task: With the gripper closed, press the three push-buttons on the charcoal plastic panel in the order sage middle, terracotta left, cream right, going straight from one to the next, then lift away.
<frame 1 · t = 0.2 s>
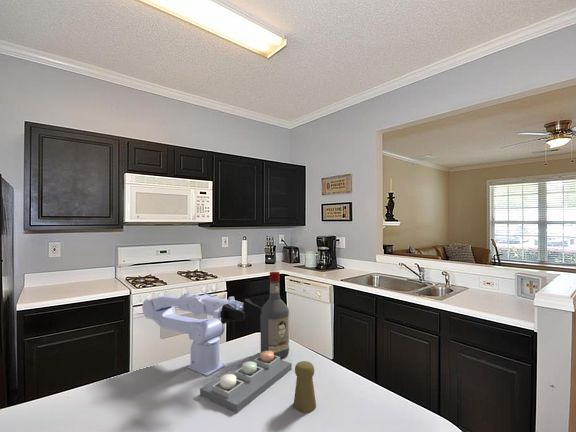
hand: (253, 313, 87), 21 cm above the worktop, tool horizontal, fingers open, 7 cm apart
liquor: (275, 354, 107), on the worktop
button panel: (249, 381, 89), on the worktop
cream button: (228, 381, 82), point 4 cm above the worktop, slide at 0.0 cm
terracotta button: (267, 356, 97), point 4 cm above the worktop, slide at 0.0 cm
olive pawn: (304, 406, 77), on the worktop
sage button: (249, 367, 89), point 4 cm above the worktop, slide at 0.0 cm
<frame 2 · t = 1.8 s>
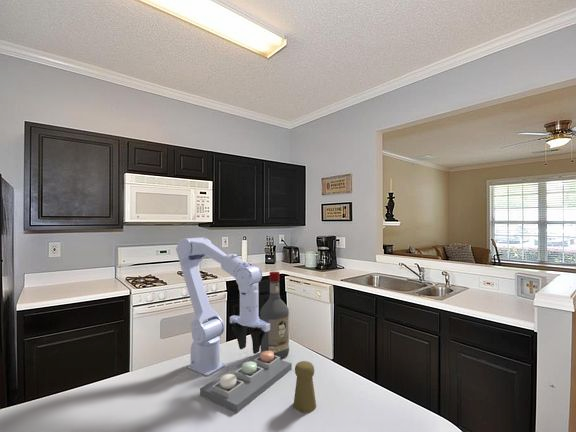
hand: (249, 350, 89), 9 cm above the worktop, tool pointing down, fingers open, 5 cm apart
nothing on the worktop moved.
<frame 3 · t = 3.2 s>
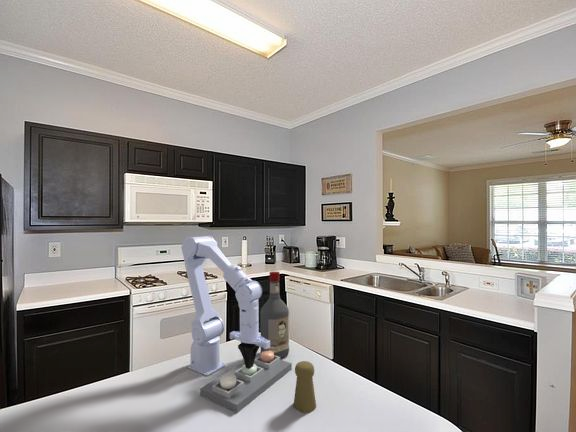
hand: (249, 367, 89), 4 cm above the worktop, tool pointing down, fingers closed, pressing on sage button
sage button: (249, 369, 89), point 3 cm above the worktop, slide at 0.6 cm, touching gripper
everything else where it was.
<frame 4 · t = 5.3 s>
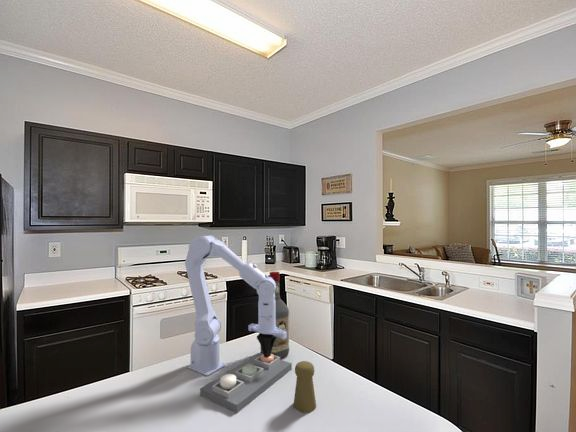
hand: (267, 356, 97), 4 cm above the worktop, tool pointing down, fingers closed, pressing on terracotta button
terracotta button: (267, 358, 97), point 3 cm above the worktop, slide at 0.8 cm, touching gripper
sage button: (249, 371, 89), point 3 cm above the worktop, slide at 1.1 cm
everything else where it was.
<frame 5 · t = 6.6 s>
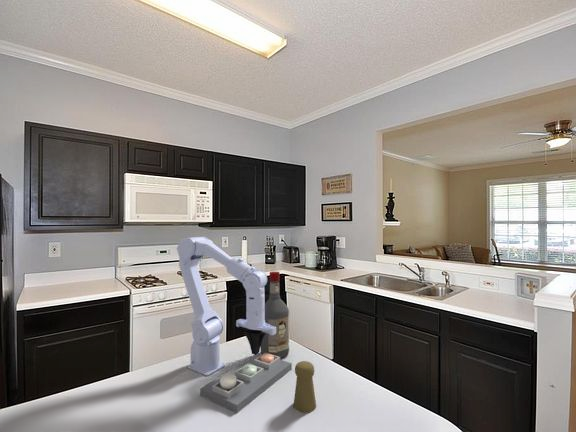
hand: (255, 353, 92), 7 cm above the worktop, tool pointing down, fingers closed
terracotta button: (267, 359, 97), point 3 cm above the worktop, slide at 1.1 cm
everything else where it was.
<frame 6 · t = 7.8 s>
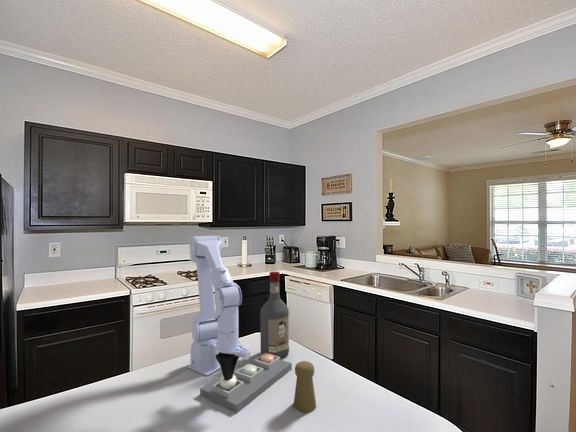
hand: (228, 378, 82), 5 cm above the worktop, tool pointing down, fingers closed, pressing on cream button
cream button: (228, 381, 82), point 4 cm above the worktop, slide at 0.1 cm, touching gripper
everything else where it was.
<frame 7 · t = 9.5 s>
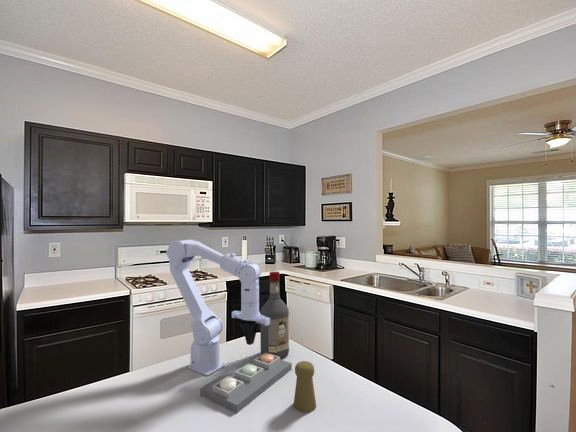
hand: (250, 343, 94), 9 cm above the worktop, tool pointing down, fingers closed
cream button: (228, 385, 82), point 3 cm above the worktop, slide at 1.1 cm
everything else where it was.
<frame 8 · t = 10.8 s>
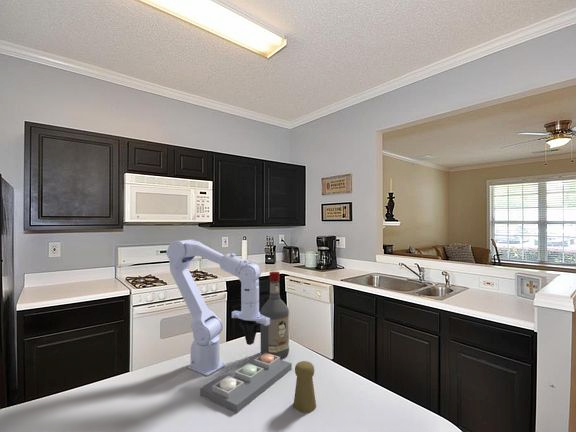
hand: (250, 343, 94), 9 cm above the worktop, tool pointing down, fingers closed
nothing on the worktop moved.
at the end: sage button slide at 1.1 cm; terracotta button slide at 1.1 cm; cream button slide at 1.1 cm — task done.
